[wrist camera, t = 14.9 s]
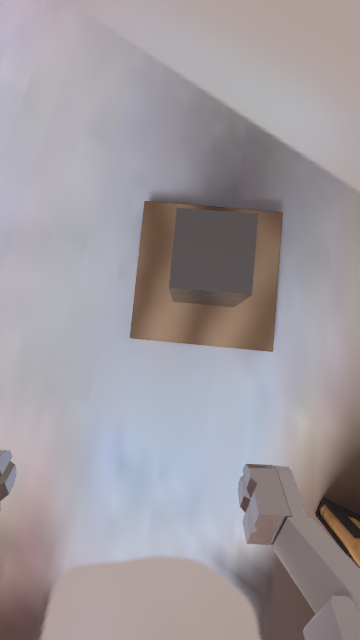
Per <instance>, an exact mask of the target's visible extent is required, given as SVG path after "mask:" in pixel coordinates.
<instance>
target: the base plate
mask: <svg viewBox="0 0 360 640" xmlns="http://www.w3.org/2000/svg"><path fill="white" fill-rule="evenodd" d="M177 207H178V208H190V209H203V210H215V211H227V212H239V213H251V214H258V224H257V237H256V250H255V263H254V276H253V289H252V295H251V296H250V297H248V298H247V299H245V300H244V301H242V302H241V303H240V304H238V305H237V306H235V307H225V306H214V305H203V304H192V303H181V302H173V299H172V296H171V293H170V290H169V280H170V270H171V260H172V250H173V239H174V229H175V219H176V209H177ZM282 214H283V212H271V211H259V210H247V209H235V208H223V207H211V206H199V205H187V204H174V203H162V202H150V201H145V202H144V211H143V220H142V230H141V239H140V248H139V258H138V267H137V276H136V286H135V295H134V304H133V314H132V323H131V332H130V338H134V339H145V340H155V341H166V342H176V343H187V344H197V345H208V346H218V347H228V348H239V349H249V350H260V351H270V352H273V341H274V327H275V313H276V299H277V285H278V271H279V257H280V242H281V228H282Z"/></svg>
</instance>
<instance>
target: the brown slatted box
mask: <svg viewBox="0 0 360 640" xmlns="http://www.w3.org/2000/svg"><path fill="white" fill-rule="evenodd" d="M316 516H317V518H318V519H319V520H320V521H321V523H322V524H323V525H324V527H325V528H326V529H327V530H328V532H329V533H330V534H331V536H332V537H333V538H334V539H335V541H336V542H337V543H338V545H339V546H340V547H341V549H342V550H343V551H344V552H345V554H346V555H347V556H349V557H351V558H353V559H355V561H356V562H357V563H358V564H359V566H360V516H359V515H357V514H355V513H353V512H351V511H349V510H347V509H345V508H343V507H341V506H339V505H337V504H335V503H333V502H331V501H329V500H327V499H325V498H324V499H322V501H321V503H320V506H319V508H318V510H317V513H316Z"/></svg>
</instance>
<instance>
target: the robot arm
mask: <svg viewBox="0 0 360 640" xmlns="http://www.w3.org/2000/svg"><path fill="white" fill-rule="evenodd" d="M11 458H12V454H11V452H10V450H0V501H1V500H2V499H4V498H5V497H6V496H7V495H9V493H10V491H11V489H12V487H13V485H14V481H15V478H16V466H15V464H13V463H12V462H11V461H10V460H11ZM243 473H244V475H243V476H242V477H240V481H239V488H238V494H239V502H240V507H241V508H242V509H243V511H244V512H245V516H244V519H243V525H244V531H245V536H246V542H247V544H260V545H273V546H272V548H273V550H274V551H275V553H276V554H277V556H278V557H279V559H280V560H281V562H282V563H283V565H284V566H285V568H286V569H287V571H288V572H289V574H290V576H291V577H292V579H293V580H294V582H295V583H296V585H297V586H298V588H299V589H300V591H301V592H302V594H303V595H304V597H305V598H306V600H307V601H308V603H309V605H310V606H311V608H312V609H313V611H314V612H315V614H316V615H315V616H314V617H313V618H312V619H311V620H310V621H309V622H308V624H307V625H306V626H305V628H304V630H303V634H304V638H305V640H360V569H359V568H358V567H357V566H356V565H355V564H354V562H353V561H352V560H351V559H350V558H349V557H348V556H347V555H346V554H345V553H344V552H343V551H342V549H341V548H340V547H339V546H338V545H337V544H336V543H335V542H334V541H333V540H332V539H331V537H330V536H329V535H328V534H327V533H326V532H325V531H324V530H323V529H322V528H321V527H320V525H319V524H318V523H317V522H316V521H315V520H314V519H313V518H308V515H307V512H306V510H305V507H304V504H303V502H302V499H301V496H300V493H299V491H298V488H297V485H296V482H295V480H294V477H293V474H292V472H291V470H290V468H289V467H287V466H273V465H257V464H246V465H244V468H243ZM0 510H1V502H0Z"/></svg>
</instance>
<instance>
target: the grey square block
mask: <svg viewBox="0 0 360 640" xmlns="http://www.w3.org/2000/svg"><path fill="white" fill-rule="evenodd" d="M257 224H258V214H251V213H239V212H227V211H215V210H203V209H190V208H178V207H177V209H176V219H175V229H174V239H173V250H172V260H171V270H170V280H169V290H170V293H171V296H172V299H173V302H181V303H192V304H203V305H214V306H225V307H235V306H237V305H238V304H240V303H241V302H242V301H244V300H245V299H247V298H248V297H250V296H251V295H252V289H253V276H254V263H255V250H256V237H257Z"/></svg>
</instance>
